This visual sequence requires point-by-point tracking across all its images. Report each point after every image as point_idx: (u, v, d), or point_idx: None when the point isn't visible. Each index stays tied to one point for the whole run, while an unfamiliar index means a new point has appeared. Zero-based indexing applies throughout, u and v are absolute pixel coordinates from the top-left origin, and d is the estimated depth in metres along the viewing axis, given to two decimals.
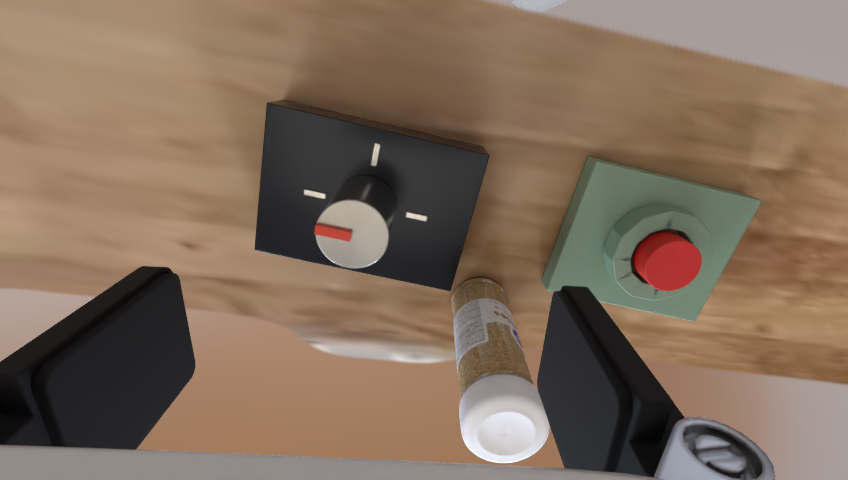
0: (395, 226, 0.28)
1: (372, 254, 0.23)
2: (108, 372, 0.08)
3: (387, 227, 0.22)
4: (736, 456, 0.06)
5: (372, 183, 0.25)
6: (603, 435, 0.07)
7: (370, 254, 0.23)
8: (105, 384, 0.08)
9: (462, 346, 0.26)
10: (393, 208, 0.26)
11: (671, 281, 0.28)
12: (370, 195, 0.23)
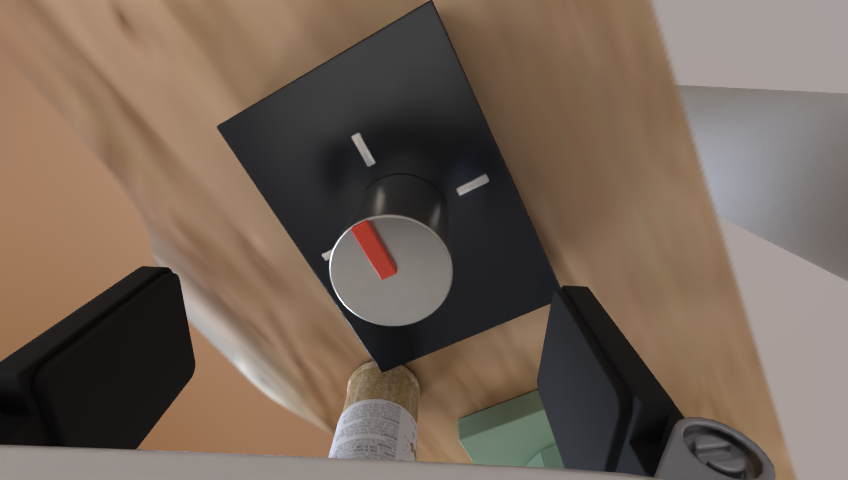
0: None
1: (387, 315, 0.14)
2: (108, 372, 0.08)
3: (439, 305, 0.14)
4: (736, 456, 0.06)
5: (446, 215, 0.17)
6: (603, 435, 0.07)
7: (384, 313, 0.14)
8: (105, 384, 0.08)
9: None
10: None
11: None
12: None
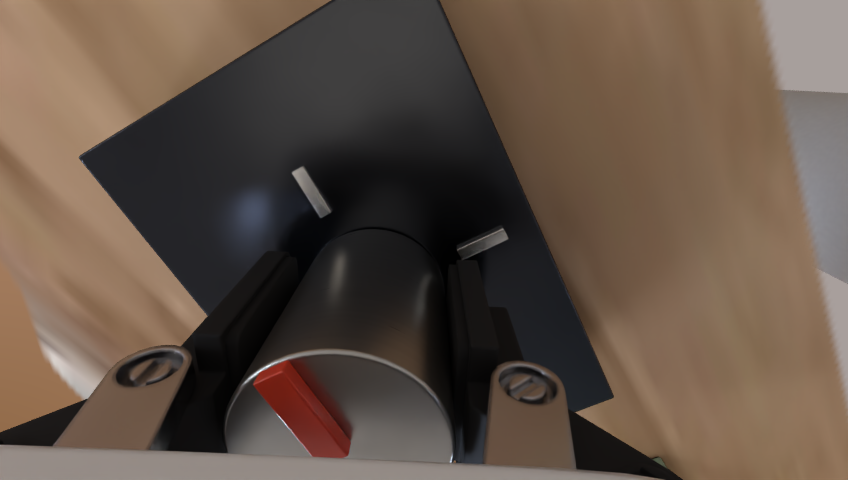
0: None
1: None
2: (263, 340, 0.09)
3: None
4: (537, 384, 0.07)
5: (442, 300, 0.10)
6: (454, 381, 0.08)
7: None
8: None
9: None
10: None
11: None
12: (449, 366, 0.08)
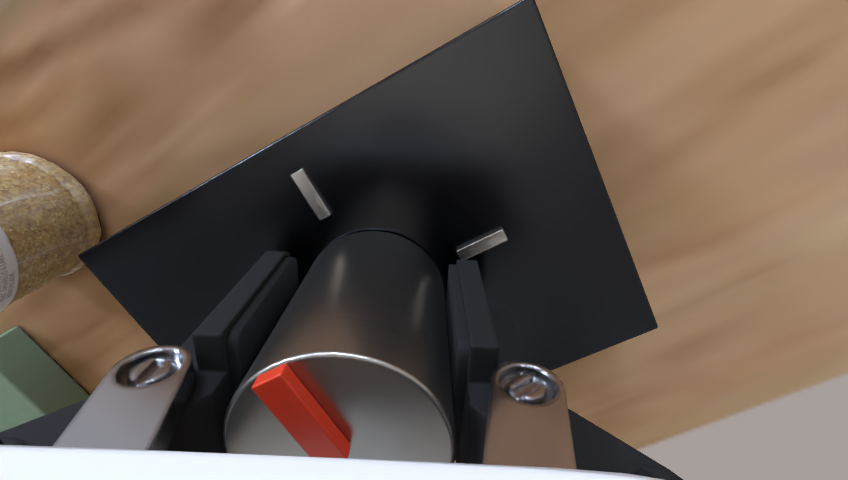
0: None
1: None
2: (263, 340, 0.09)
3: None
4: (537, 384, 0.07)
5: (442, 301, 0.10)
6: (454, 381, 0.08)
7: None
8: None
9: None
10: None
11: None
12: (448, 367, 0.08)
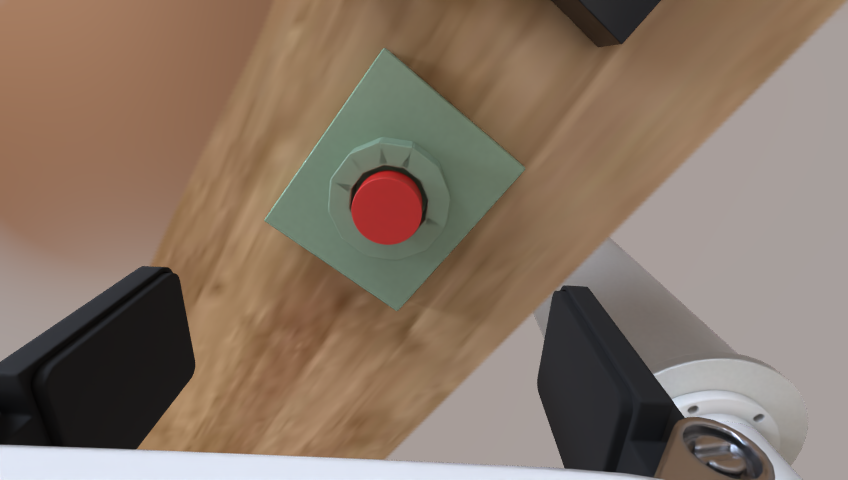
0: None
1: None
2: (108, 372, 0.08)
3: None
4: (736, 456, 0.06)
5: None
6: (603, 435, 0.07)
7: None
8: (105, 384, 0.08)
9: None
10: None
11: (366, 205, 0.21)
12: None
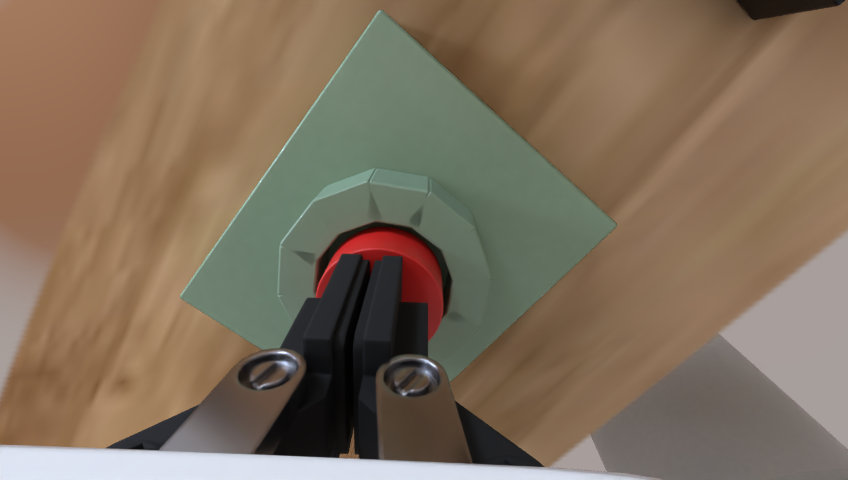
0: None
1: None
2: None
3: None
4: (421, 374, 0.07)
5: None
6: None
7: None
8: None
9: None
10: None
11: None
12: None
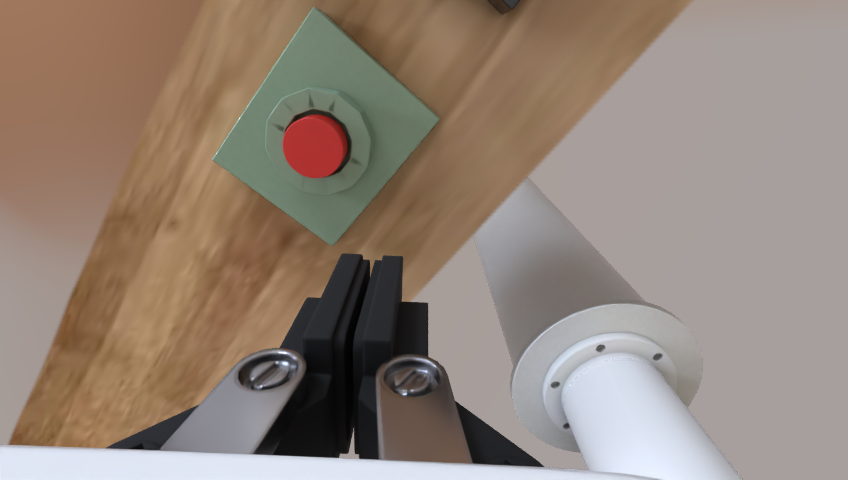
0: None
1: None
2: None
3: None
4: (421, 374, 0.07)
5: None
6: None
7: None
8: None
9: None
10: None
11: (295, 142, 0.25)
12: None
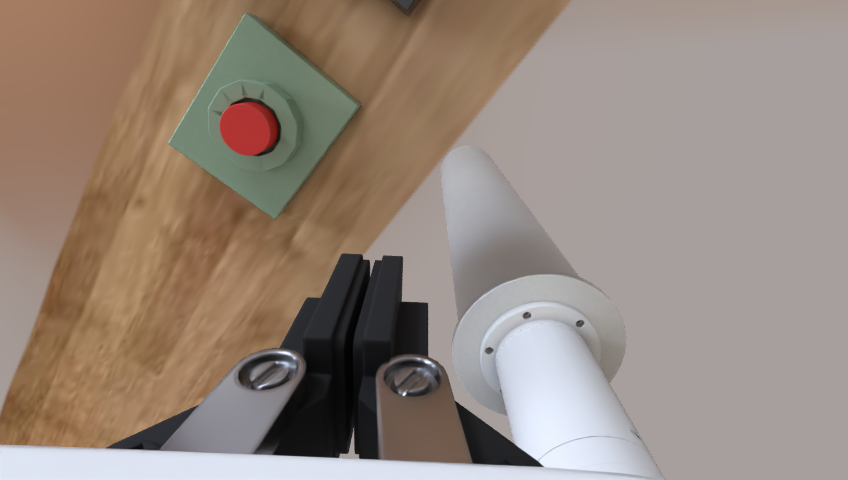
0: None
1: None
2: None
3: None
4: (421, 374, 0.07)
5: None
6: None
7: None
8: None
9: None
10: None
11: (229, 124, 0.30)
12: None
